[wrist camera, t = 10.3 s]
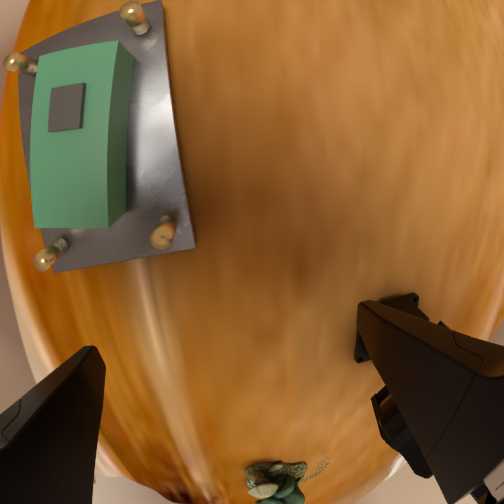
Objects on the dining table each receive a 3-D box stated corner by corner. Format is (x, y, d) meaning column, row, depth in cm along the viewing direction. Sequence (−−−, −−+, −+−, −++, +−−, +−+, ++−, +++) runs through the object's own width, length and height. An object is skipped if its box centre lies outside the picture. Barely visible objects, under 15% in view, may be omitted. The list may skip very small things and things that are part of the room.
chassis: (196, 240, 20) (193, 267, 16) (62, 265, 19) (36, 292, 15) (164, 8, 14) (154, -22, 10) (28, 57, 13) (-4, 46, 9)
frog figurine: (205, 449, 30) (211, 529, 19) (342, 431, 32) (372, 499, 22) (215, 494, 36) (220, 549, 26) (317, 481, 39) (334, 532, 28)
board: (125, 212, 17) (106, 230, 14) (60, 213, 17) (31, 230, 13) (134, 57, 14) (116, 37, 10) (65, 67, 13) (36, 54, 9)
